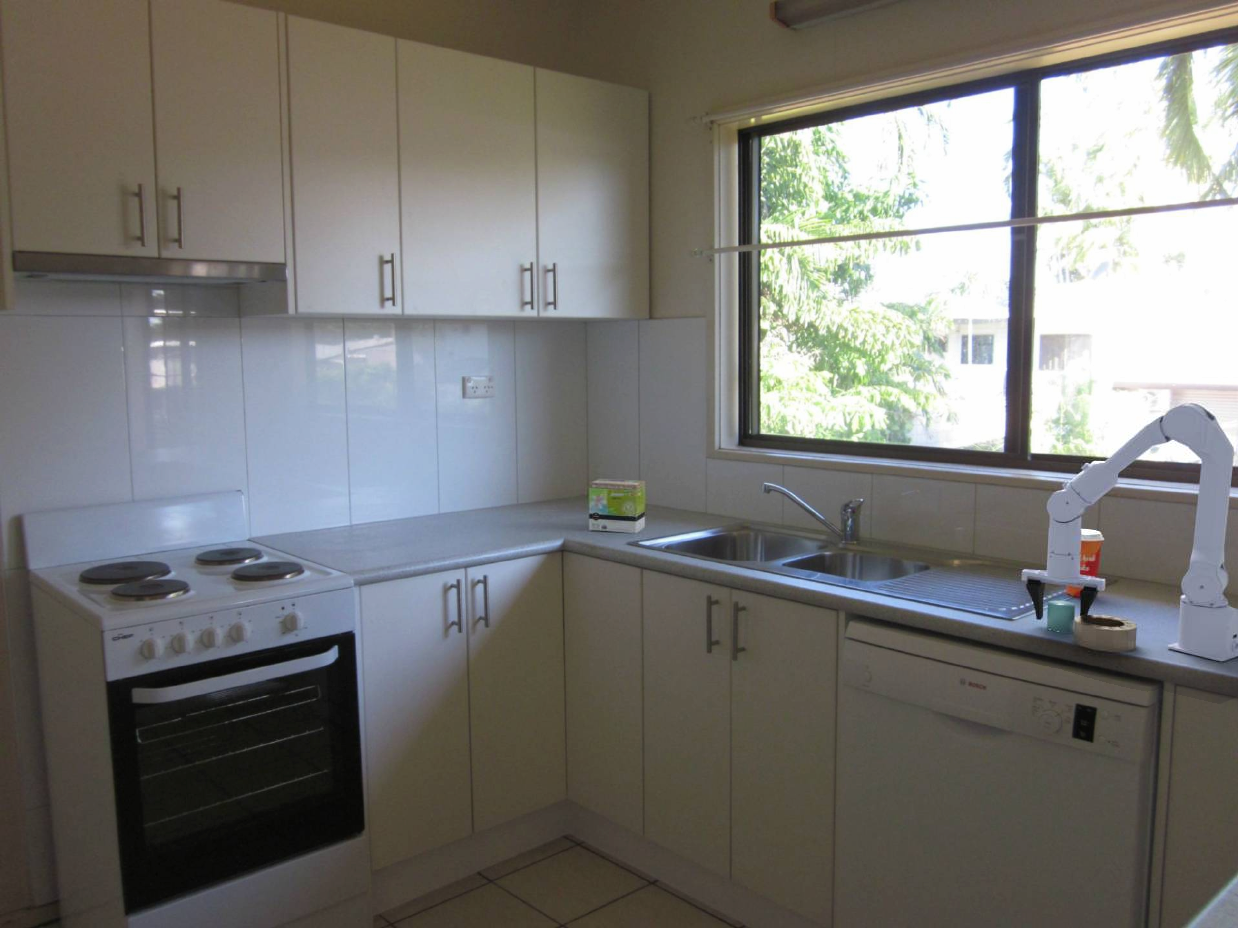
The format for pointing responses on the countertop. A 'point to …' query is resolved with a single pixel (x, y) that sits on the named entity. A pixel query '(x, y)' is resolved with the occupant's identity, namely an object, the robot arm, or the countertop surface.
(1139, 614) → the countertop surface
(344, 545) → the countertop surface
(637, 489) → the tea box
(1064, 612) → the teal rounded cylinder
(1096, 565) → the paper cup
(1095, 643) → the brown faceted tube
